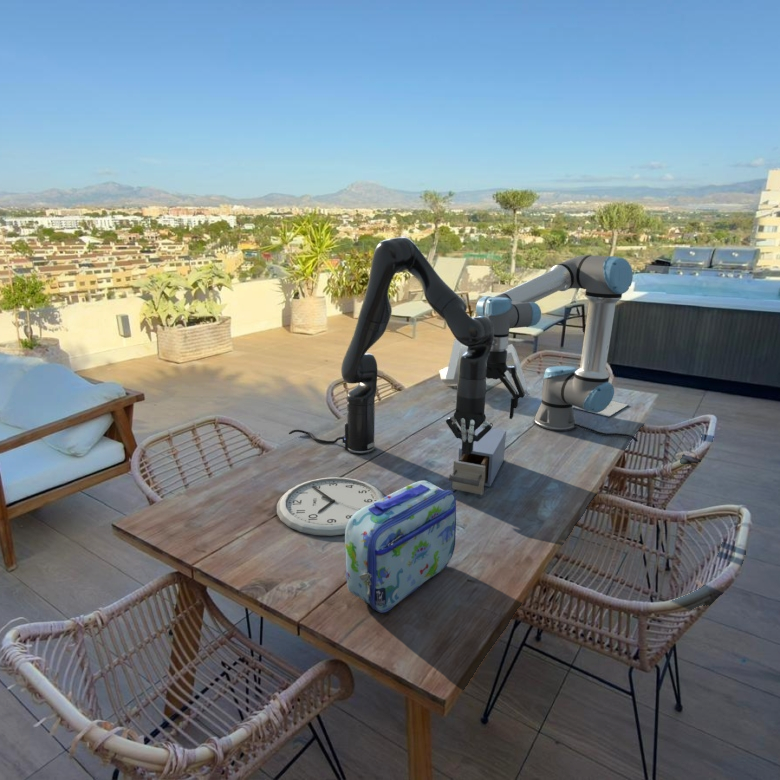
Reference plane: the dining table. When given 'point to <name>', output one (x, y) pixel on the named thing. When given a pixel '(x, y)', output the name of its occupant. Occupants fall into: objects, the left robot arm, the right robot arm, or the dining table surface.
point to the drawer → (470, 473)
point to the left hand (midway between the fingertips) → (467, 453)
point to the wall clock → (325, 504)
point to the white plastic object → (452, 371)
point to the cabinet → (490, 450)
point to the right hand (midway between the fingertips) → (489, 414)
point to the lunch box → (399, 543)
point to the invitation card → (609, 408)
